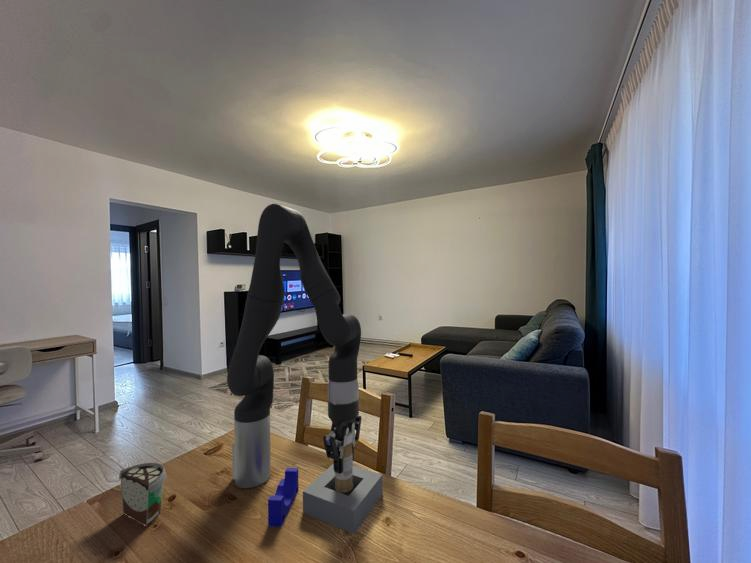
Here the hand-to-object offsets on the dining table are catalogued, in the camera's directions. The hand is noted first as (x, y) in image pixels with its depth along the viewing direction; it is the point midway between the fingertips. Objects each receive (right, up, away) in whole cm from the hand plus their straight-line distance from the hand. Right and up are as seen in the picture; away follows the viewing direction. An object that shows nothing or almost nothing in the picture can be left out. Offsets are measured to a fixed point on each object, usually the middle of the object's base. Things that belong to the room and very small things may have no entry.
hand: (344, 466), depth 76 cm
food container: (-46, -10, -2) cm, 47 cm away
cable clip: (-15, -9, -1) cm, 18 cm away
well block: (0, -9, 0) cm, 9 cm away
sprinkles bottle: (0, -5, 0) cm, 5 cm away
